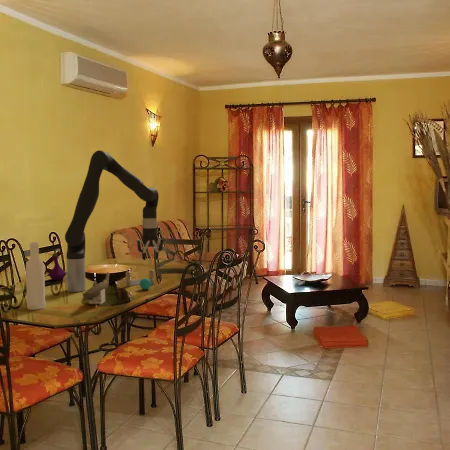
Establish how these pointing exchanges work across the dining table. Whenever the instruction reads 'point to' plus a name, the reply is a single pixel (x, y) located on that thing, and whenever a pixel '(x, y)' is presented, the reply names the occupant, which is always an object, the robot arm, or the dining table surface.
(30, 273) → the bottle
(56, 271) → the perfume bottle
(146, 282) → the ball
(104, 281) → the wood carving
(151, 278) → the right post
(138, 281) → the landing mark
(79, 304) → the dining table surface
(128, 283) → the left post
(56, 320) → the dining table surface
